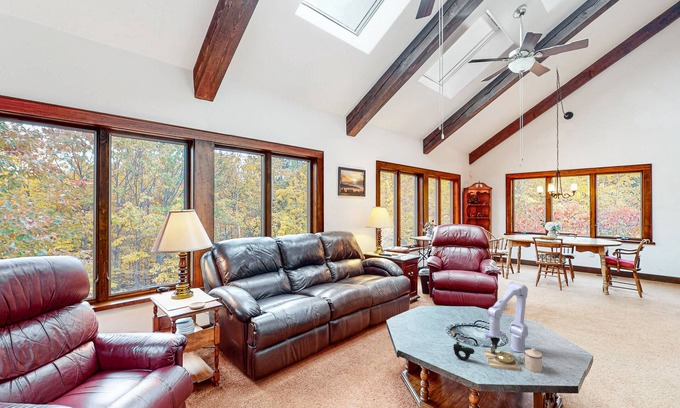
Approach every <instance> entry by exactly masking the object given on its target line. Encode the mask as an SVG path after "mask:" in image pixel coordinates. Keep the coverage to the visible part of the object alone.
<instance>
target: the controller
mask: <svg viewBox="0 0 680 408" xmlns="http://www.w3.org/2000/svg"><path fill="white" fill-rule="evenodd" d="M460 343H461V342H460V341H456V342H455V343H454V344H453V347H452V350H453V352H454V356H456V358H458V359H459V360H461V361H467V360H468V359H470V357H471V355H473V354H475V349H474V348H473V347H468V346H465V345H462V344H460ZM460 352H462V353H464V355H465V356H462V355H461V354H460Z"/></svg>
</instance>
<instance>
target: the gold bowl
mask: <svg viewBox="0 0 680 408" xmlns="http://www.w3.org/2000/svg"><path fill="white" fill-rule="evenodd" d="M490 350H491V354H493V355H496V356H497V359H498V360H499V361H500V362H503V363H507V364H511V363H513V362H514V359H515V358H514V355H513V353H511V354H509V353H506V352H507V351H503V350H499V351H500V352H498V353H496V352H495V351H496V349H495V344H494V343H492V342H491V343H490Z"/></svg>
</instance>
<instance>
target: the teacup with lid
mask: <svg viewBox="0 0 680 408" xmlns="http://www.w3.org/2000/svg"><path fill="white" fill-rule="evenodd" d="M521 356H524V360H523V359H522V358H521ZM543 356H544V355H543V353H542V352H540V351H538V350H536V348H534V347H532V348H531V349H525V352H524V353H522V352H519V354H518V358H519V360H520V362H522V363H524V367H525V369H527V370H529V372H533V373H541V372H542V371H543Z"/></svg>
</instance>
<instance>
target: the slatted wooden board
mask: <svg viewBox="0 0 680 408" xmlns="http://www.w3.org/2000/svg"><path fill="white" fill-rule="evenodd" d="M500 351H501V350H495V352H496V353H498V352H500ZM505 352H506V353H509V354H512V353H511V352H510V351H505ZM483 353H484V356H485V358H486V361H487V363H488V365H489V368H490V369H491V368H493V369H502V370H508V371H516V372H517V371H518V372H521V367H520V365H519V364H518V362H517V360H516V359H515V358H514V362H513V363H511V364H507V363H503V362H500V361H499V360H498V359H497V356H496V355H493V354H491V349H483Z"/></svg>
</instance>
